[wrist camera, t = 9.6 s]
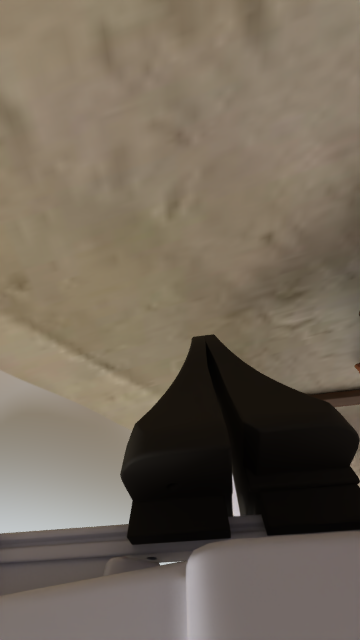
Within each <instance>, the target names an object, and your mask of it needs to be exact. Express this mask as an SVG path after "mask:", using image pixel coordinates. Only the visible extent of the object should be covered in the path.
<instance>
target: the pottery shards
mask: <svg viewBox="0 0 360 640" xmlns="http://www.w3.org/2000/svg"><path fill="white" fill-rule="evenodd" d="M359 315H360V312H359ZM355 368H356V369H357V370H358V371H359V373H360V363H358V364H356V365H355Z"/></svg>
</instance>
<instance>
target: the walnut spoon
mask: <svg viewBox="0 0 360 640" xmlns="http://www.w3.org/2000/svg"><path fill="white" fill-rule="evenodd" d="M310 396H313V397H315V398H318V399H321V400H323V401H326V402H329V403H330V404H331V405H332V406H333V407H340V406H350V405H359V404H360V389H359V390H350V391H341V392H332V393H323V394H314V395H310Z"/></svg>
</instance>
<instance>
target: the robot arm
mask: <svg viewBox="0 0 360 640" xmlns="http://www.w3.org/2000/svg"><path fill="white" fill-rule="evenodd" d="M358 445H359V436H358V433H357V432H356V431H355V430H354V429H353V427H352V426H351V425H350V424H349V423H348V422H347V420H346V419H345V418H344V417H343V416H342V415H341V414H340V413H339V412H338V411H337V410H336V409H335V408H334V407H333V406H332V405H331V404H330V403H329V402H326V401H323V400H321V399H318V398H315V397H313V396H310V395H307V394H304V393H302V392H299V391H297V390H295V389H292V388H290V387H288V386H285V385H283V384H281V383H279V382H277V381H275V380H273V379H271V378H269V377H267V376H266V375H264V374H262V373H260V372H258V371H257V370H255V369H254V368H252V367H251V366H249V365H247V364H246V363H245V362H243V361H242V360H241V359H239V358H238V357H237V356H236V355H235V354H233V353H232V352H231V351H230V350H229V349H228V348H227V347H226V346H225V345H224V344H223V343H222V342H221V341H220V340H219V339H218V338H217V337H216V336H215V335H214V334H213V335H205V336H197V337H193V338H192V342H191V346H190V350H189V352H188V355H187V358H186V360H185V362H184V364H183V366H182V368H181V370H180V372H179V374H178V375H177V377H176V379H175V380H174V382H173V383H172V385H171V386H170V387H169V389H168V390H167V391H166V393H165V394H164V395H163V396H162V397H161V399H160V400H159V401H158V402H157V403H156V404H155V405H154V406H153V408H152V409H151V410H150V411H148V412H147V413H146V414H145V415H144V416H143V417H142V418H141V419H140V420H139V421H138V422H137V423H136V424H135V426H134V428H133V431H132V433H131V436H130V439H129V441H128V444H127V448H126V452H125V456H124V460H123V465H122V470H121V474H120V475H121V479H122V482H123V483H124V485H125V487H126V489H127V491H128V493H129V494H130V496H131V498H132V500H133V502H132V509H131V514H130V520H129V524H124V525H111V526H97V527H84V528H70V529H57V530H43V531H29V532H16V533H2V534H0V640H360V488H359V486H358V485H357V484H359V482H360V480H359V478H358V476H357V475H356V474H355V472H354V471H353V470H352V468H351V467H350V464H351V462H352V460H353V458H354V456H355V454H356V451H357V449H358ZM233 514H234V516H233ZM177 561H182V562H177ZM161 562H177V563H172V564H166V565H161V566H160V564H159V563H161Z"/></svg>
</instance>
